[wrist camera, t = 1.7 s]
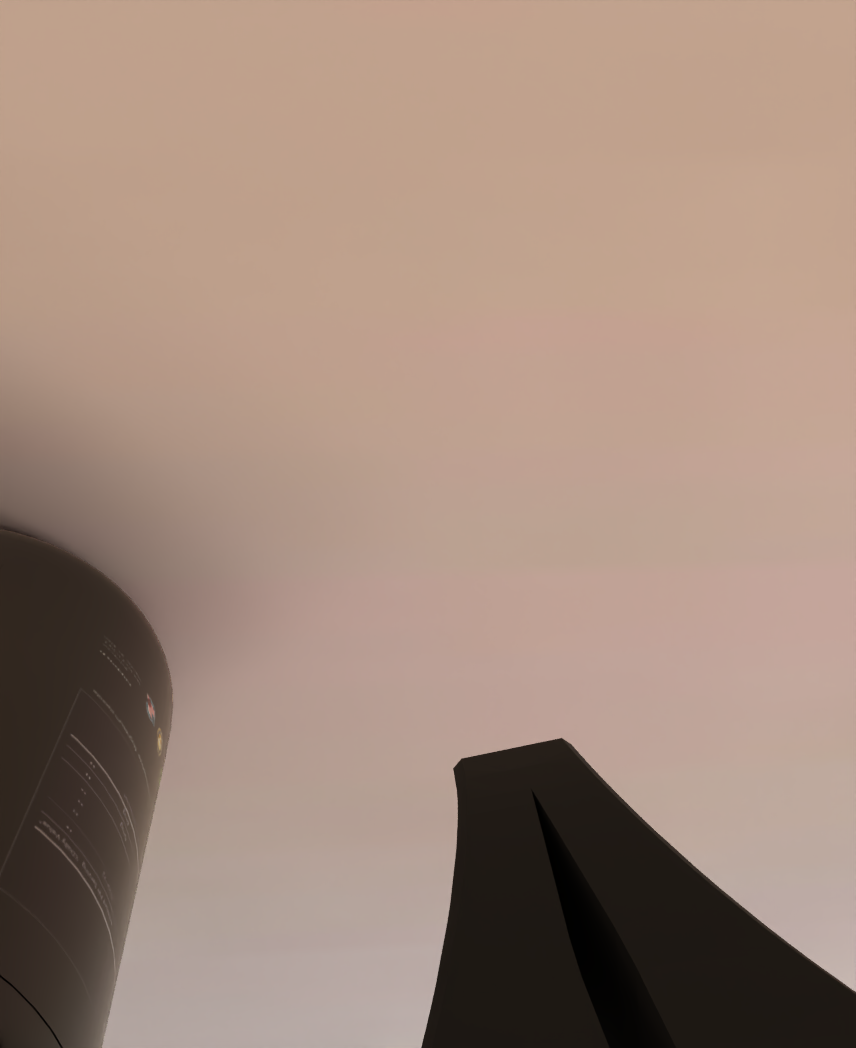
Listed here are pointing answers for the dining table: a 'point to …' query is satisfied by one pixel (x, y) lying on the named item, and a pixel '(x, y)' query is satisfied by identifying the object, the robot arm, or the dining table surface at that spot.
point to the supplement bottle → (71, 787)
